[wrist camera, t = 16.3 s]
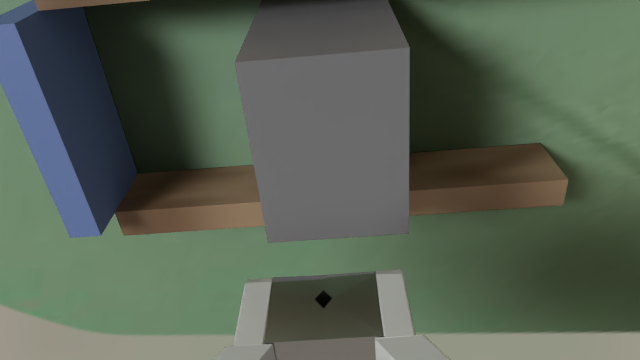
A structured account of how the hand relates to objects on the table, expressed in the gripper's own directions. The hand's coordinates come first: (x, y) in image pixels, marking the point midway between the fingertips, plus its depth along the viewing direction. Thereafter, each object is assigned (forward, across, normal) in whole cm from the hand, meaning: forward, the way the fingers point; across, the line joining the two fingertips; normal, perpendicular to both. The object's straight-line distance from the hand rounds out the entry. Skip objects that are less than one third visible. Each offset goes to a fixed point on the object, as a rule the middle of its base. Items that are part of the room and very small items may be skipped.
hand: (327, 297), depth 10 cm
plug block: (+12, 0, 0) cm, 13 cm away
